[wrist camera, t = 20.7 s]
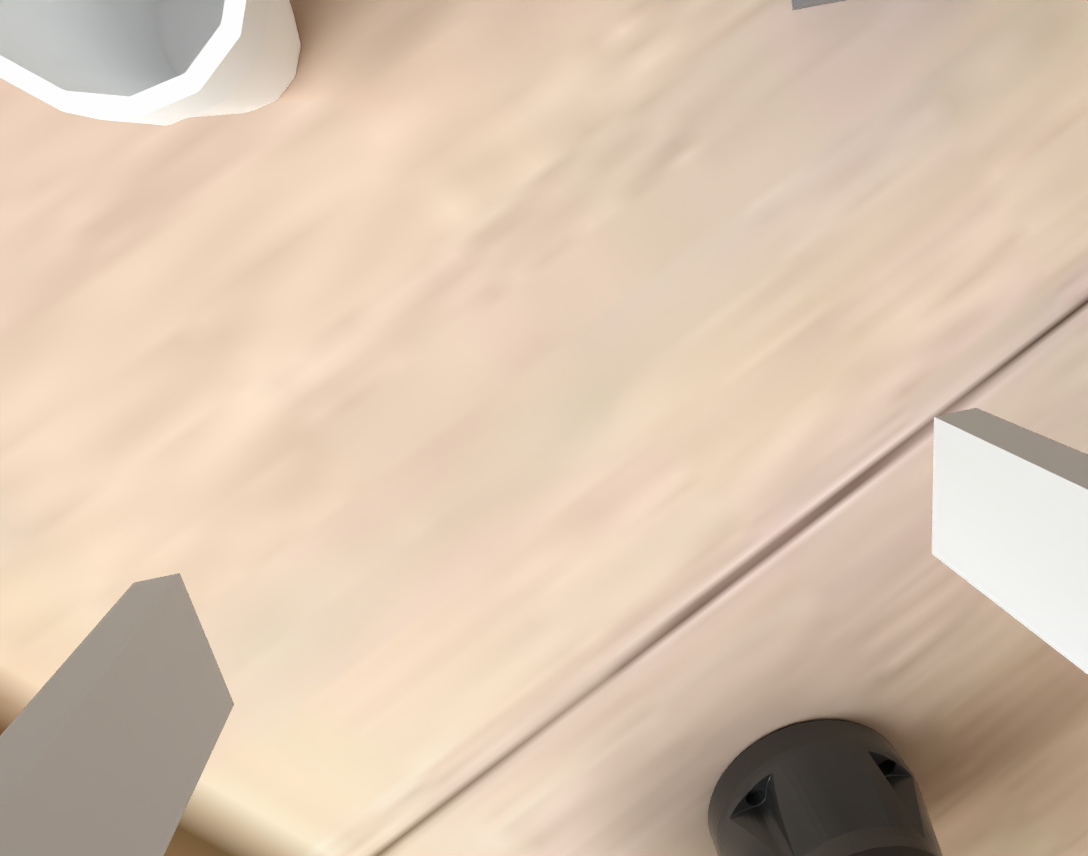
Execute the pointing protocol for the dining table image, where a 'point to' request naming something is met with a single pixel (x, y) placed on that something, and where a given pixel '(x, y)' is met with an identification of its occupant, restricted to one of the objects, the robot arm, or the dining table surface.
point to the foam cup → (150, 55)
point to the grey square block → (811, 3)
